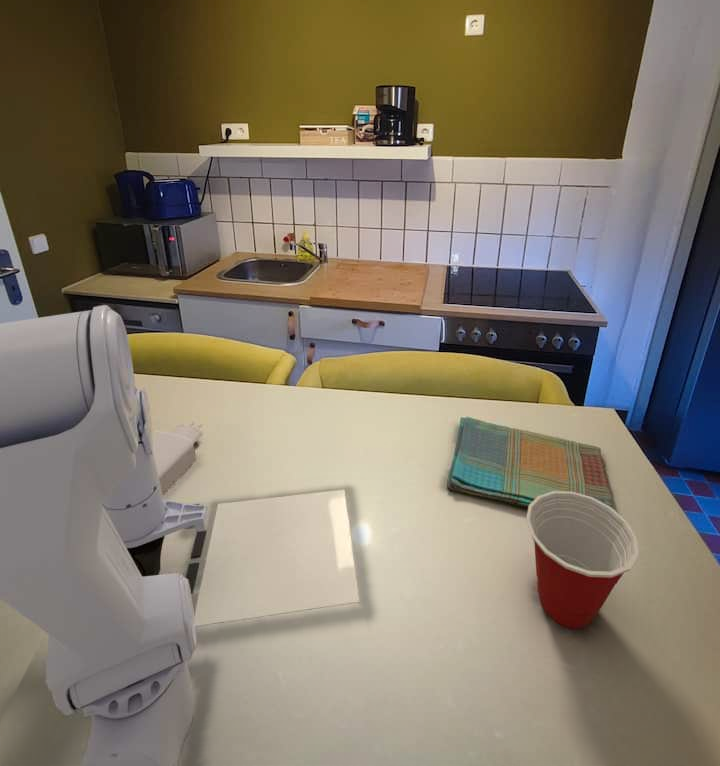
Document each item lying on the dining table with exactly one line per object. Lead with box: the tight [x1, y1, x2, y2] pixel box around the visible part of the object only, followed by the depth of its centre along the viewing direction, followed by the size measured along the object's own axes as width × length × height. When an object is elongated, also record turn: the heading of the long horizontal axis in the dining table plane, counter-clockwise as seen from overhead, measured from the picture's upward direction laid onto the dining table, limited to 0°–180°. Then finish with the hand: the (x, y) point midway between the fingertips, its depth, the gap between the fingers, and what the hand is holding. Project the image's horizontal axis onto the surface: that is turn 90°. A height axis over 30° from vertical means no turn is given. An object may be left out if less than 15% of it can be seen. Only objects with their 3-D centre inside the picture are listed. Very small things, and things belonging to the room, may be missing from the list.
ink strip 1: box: [190, 530, 207, 559], centre depth 56 cm, size 4×1×1 cm
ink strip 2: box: [185, 561, 200, 595], centre depth 52 cm, size 4×1×1 cm
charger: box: [152, 421, 203, 495], centre depth 71 cm, size 5×9×15 cm
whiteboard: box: [194, 489, 360, 627], centre depth 56 cm, size 18×20×1 cm
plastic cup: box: [525, 491, 640, 630], centre depth 48 cm, size 11×11×12 cm
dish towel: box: [446, 416, 616, 511], centre depth 69 cm, size 17×23×2 cm
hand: (152, 576), depth 51 cm, fingers closed
